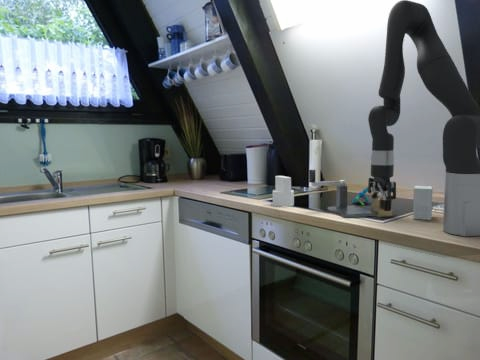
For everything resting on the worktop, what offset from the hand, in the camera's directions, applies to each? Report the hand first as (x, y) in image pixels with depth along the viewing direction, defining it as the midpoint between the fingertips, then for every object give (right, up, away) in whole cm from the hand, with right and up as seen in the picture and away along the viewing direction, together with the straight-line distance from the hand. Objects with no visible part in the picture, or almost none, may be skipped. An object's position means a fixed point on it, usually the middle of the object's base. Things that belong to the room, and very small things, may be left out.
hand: (380, 208), depth 127 cm
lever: (-17, +8, +9) cm, 21 cm away
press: (-10, -2, +4) cm, 11 cm away
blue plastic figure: (+1, 0, +23) cm, 23 cm away
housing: (0, -2, 0) cm, 2 cm away
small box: (+12, -3, -5) cm, 14 cm away
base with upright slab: (-32, -1, +24) cm, 40 cm away
